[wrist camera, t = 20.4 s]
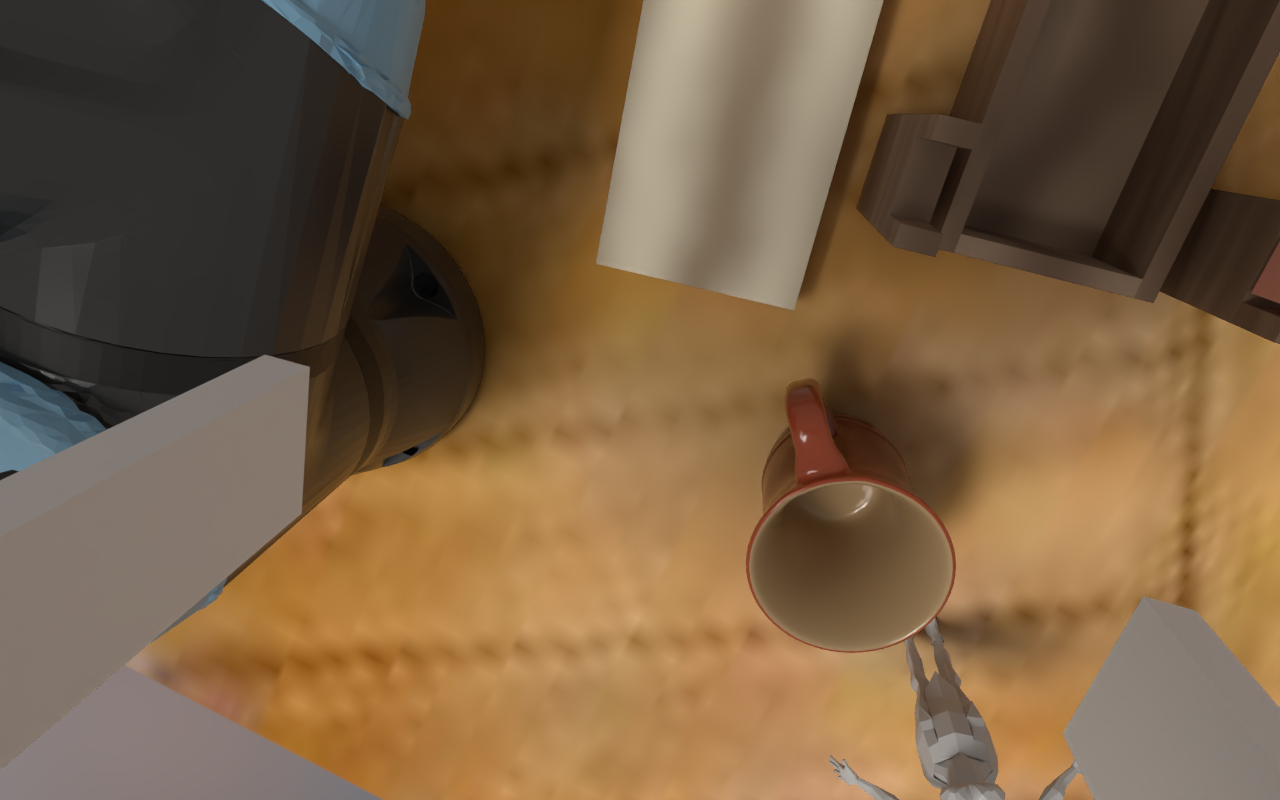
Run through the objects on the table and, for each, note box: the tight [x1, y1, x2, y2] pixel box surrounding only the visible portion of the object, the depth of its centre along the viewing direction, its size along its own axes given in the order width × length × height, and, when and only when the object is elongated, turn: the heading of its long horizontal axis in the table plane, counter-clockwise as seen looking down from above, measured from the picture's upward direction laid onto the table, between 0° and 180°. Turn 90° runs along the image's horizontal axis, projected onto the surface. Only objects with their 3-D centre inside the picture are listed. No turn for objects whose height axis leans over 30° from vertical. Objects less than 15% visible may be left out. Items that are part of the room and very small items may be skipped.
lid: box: [596, 0, 884, 310], centre depth 35 cm, size 10×15×3 cm, turn 168°
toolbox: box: [857, 0, 1280, 344], centre depth 28 cm, size 14×14×12 cm
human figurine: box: [829, 617, 1081, 800], centre depth 36 cm, size 12×4×18 cm, turn 104°
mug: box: [746, 378, 956, 653], centre depth 37 cm, size 12×9×10 cm
